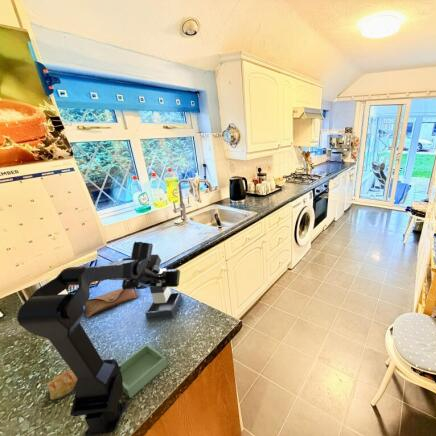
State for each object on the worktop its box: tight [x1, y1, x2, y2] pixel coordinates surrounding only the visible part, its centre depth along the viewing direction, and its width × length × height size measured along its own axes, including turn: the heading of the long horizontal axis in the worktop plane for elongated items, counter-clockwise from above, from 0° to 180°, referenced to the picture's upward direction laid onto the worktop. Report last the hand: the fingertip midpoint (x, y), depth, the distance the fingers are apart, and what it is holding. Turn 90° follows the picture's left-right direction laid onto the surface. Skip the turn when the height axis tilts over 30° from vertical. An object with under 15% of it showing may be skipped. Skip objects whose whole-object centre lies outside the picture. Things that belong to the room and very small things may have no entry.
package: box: [149, 267, 172, 303], centre depth 92 cm, size 6×5×12 cm
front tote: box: [118, 343, 168, 399], centre depth 71 cm, size 11×10×4 cm
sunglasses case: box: [84, 287, 139, 318], centre depth 99 cm, size 18×7×7 cm, turn 133°
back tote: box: [144, 291, 183, 320], centre depth 96 cm, size 11×10×4 cm
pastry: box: [46, 369, 77, 401], centre depth 68 cm, size 9×7×4 cm
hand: (161, 282), depth 93 cm, fingers closed on package, 4 cm apart
